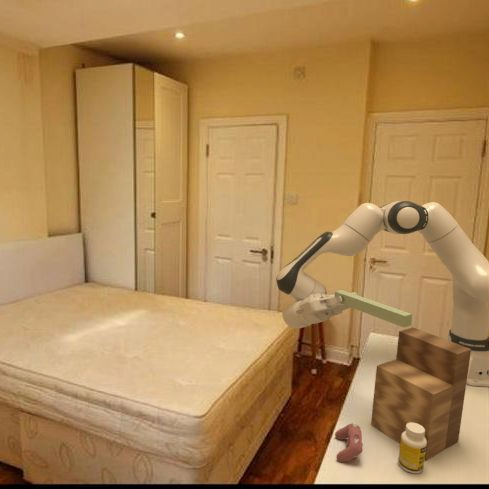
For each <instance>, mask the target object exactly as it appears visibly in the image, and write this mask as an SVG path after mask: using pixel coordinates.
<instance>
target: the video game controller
mask: <svg viewBox="0 0 489 489" xmlns="http://www.w3.org/2000/svg"><path fill="white" fill-rule="evenodd" d="M334 435H335V436H334V437H335V438H336V439H337V440H346V439H347V440H346V443H345V445H346V446H347V447H346V448H344V449H342V450H341V451H339V452H337V454H336V460H337V461H338V462H341V463H342V462H343V463H345V462H349V461H351V460H353V459H355V457H359V455H360V454H362V453H363V451H364V448H363V447H364V445H363V442H362V441H363V434H362V429H361V427H360V426H359V425H357V424H354V423H353V422H351V423H348V424H347V425H346V426H344V427H342V428H339V429H338V430H336V432H335V434H334Z"/></svg>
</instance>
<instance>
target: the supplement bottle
mask: <svg viewBox="0 0 489 489" xmlns="http://www.w3.org/2000/svg"><path fill="white" fill-rule="evenodd" d="M424 435H425V429H424V427H423V426H421V425H420V424H417V423H412V422H411V423H407V424H406V431H404V432H403V433H402V436H401V443H400V444H399V453H398V460H397V462H398V465H399V466H400V468H401V469H402V470H404V471H406V472H407V473H411V474H420V473H421V472H423V470H424V466H425V453H426V446H427V441H426V438H425V437H424Z"/></svg>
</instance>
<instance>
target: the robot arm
mask: <svg viewBox="0 0 489 489" xmlns="http://www.w3.org/2000/svg"><path fill="white" fill-rule="evenodd" d="M381 231H384V232H388V233H391V234H396V235H408V234H412V233H415V232H418V233H420V234H421V235H422V237H423V238H424V240H425V241H426V242H427V244H428V245H429V247H430V248H431V249H432V251H433V252H434V253H435V255H436V256H437V258H438V259H439V261H440V262H441V263H442V264H443V265H444V266H445V267H446V269H447V270H448V271H449V273H450V274H451V277H452V300H453V302H452V304H453V305H452V306H453V308H452V320H451V328H450V329H449V332H448V336H447V340H448V341H451V342H453V343H456V344H459V345H461V346H464V347H467V348H469V349H471V354H470V361H469V368H468V375H467V382H466V385H469V386H472V387H489V260H488V259H487V258H486V257H485V255H484V254H483V253H482V252H481V251H480V250H479V249H478V248H477V246H476V245H475V244H474V243H473V241H472V240H470V238H469V237H468V235H467V234H466V232H465V231H464V230H463V228H462V227H461V226H460V224H459V223H458V222H457V220H456V219H455V218H454V217H453V216H452V214H450V212H449V211H448V210H447V209H446V208H445V207H443V206H442V205H441V204H440V203H438V202H435V201H432V202H426V203H424V204H422V205H419V204H417V203H415V202H413V201H408V200H396V201H393V202H389V203H387V204H385V205H382V206H378V205H376V204H374V203H371V202H365V203H361V204H360V205H359V206H358V207H357V208H355V210H353V211H352V212H351V214H349V215H348V217H347V218H346V219H345V220H344V221H343V222H342V224H341V225H340V226H339V227H337V229H335V230H333V231H325V232H323V233H322V234H320V235H319V236H318V237H317V238H316V239H314V241H312V242H311V243H310V244H309V245H308V246H307V247H305V249H303V250H302V251H301V252H300V254H298V255H297V256H296V257H295V258H294V259H293V260H292V261H290V262H289V263H287V264H286V265H285V266H284V267H283V268H281V270H280V271H279V272H278V273H277V275H276V286H277V288H278V290H279V291H280V292H282V293H284V294H285V295H287V296H290V297H291V298H293V299H294V300H295V301H294V302H293V303H292V304H290V305H288V306H287V307H286V308H284V309H283V311H282V314H281V315H282V319H283V321H284V323H285V325H287V326H288V327H289V328H292V329H302V328H306V327H309V326H311V325H314V324H315V325H316V324H319V323H321V322H322V323H323V322H326V321H328V320H329V319H331V318H332V317H334V316H337V315H339V314H342V313H343V311H345V310H348V309H350V308H351V307H349V306H346V305H343V304H341V302H344V297H343V296H338V297H335V293H334V294H333V293H332V294H327V293H328V292H327V289H326V285H324V284H322V283H321V282H320V281H318V280H317V279H316V278H314V277H312V276H311V275H310V274H308V273H307V272H305V269H306V268H308V266H310V265H311V264H312V263H313V262H314V261H315V260H316V259H317V258H318V257H319V256H321V255H322V254H327V253H332V254H336V255H340V256H346V257H353V256H354V257H355V256H357V255H360V254H361V253H362V252H364V250H365V249H366V248H367V247H368V245H370V243H371V242H372V241H373V240H374V237H375V236H376V235H377V234H378V233H380V232H381ZM351 293H352V294H355V295H358V293H357V292H356V291H354V292H353V291H352V292H351ZM334 297H335V298H334Z"/></svg>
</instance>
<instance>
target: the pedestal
mask: <svg viewBox="0 0 489 489" xmlns="http://www.w3.org/2000/svg"><path fill="white" fill-rule="evenodd" d="M397 339H398V340H397V347H396V348H397V349H396V350H397V351H396V356H395V357H396V358H395V359H392V360H390V361H387V362H384V363H380V364H378V365H376V369H375V370H376V371H375V378H374V379H375V381H374V390H373V391H374V392H373V402H372V410H371V411H372V412H371V422H370V425H371V426H372V427H374V428H375V429H377V430H378V431H379V432H381V433H383V434H384V435H386V436H387V437H389V438H390V439H392V440H393V441H395V442H396V443H398V444H399V445H400V443H401V436H402V433H403V432H404V431H406V424H407V423H411V422H412V423H417V424H420V425H421V426H423V427H424V429H425V435H424V437H425V438H426V441H427V446H426V453H425V460H424V462H425V461H428V460H430V459H431V458H432V457H435V456H437V455H438V454H439V453H442V452H443V451H444V450H446V449H449V447H451V446H453V445H455V444H456V443H458V442H459V439H460V432H461V424H462V418H463V409H464V404H465V394H466V390H467V389H466V388H467V383H466V382H467V375H468V368H469V361H470V354H471V349H469V348H467V347H464V346H461V345H459V344H456V343H453V342H451V341H448V339H445V338H443V337H439V336H437V335H434V334H432V333H429V332H426V331H424V330H420V329H418V328H415V327H409V328H406V329H405V328H404V329H403V330H399V331H398V338H397Z"/></svg>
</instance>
